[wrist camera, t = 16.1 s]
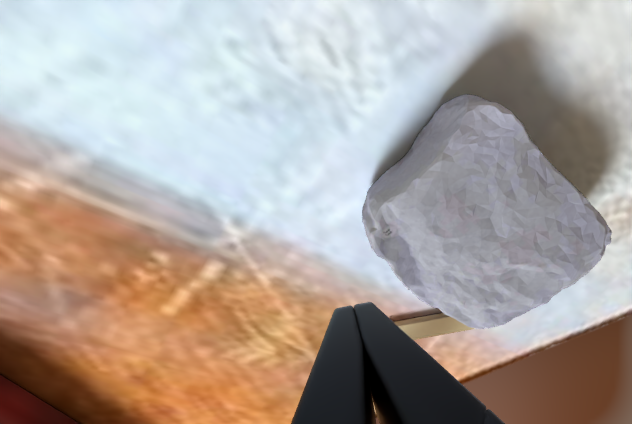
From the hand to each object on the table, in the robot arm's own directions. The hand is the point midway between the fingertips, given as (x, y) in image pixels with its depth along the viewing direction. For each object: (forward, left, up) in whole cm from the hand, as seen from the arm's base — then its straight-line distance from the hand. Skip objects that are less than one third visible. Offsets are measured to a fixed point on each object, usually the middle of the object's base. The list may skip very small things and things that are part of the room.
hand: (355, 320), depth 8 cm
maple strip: (-7, +12, -12) cm, 19 cm away
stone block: (-8, +5, -13) cm, 15 cm away
